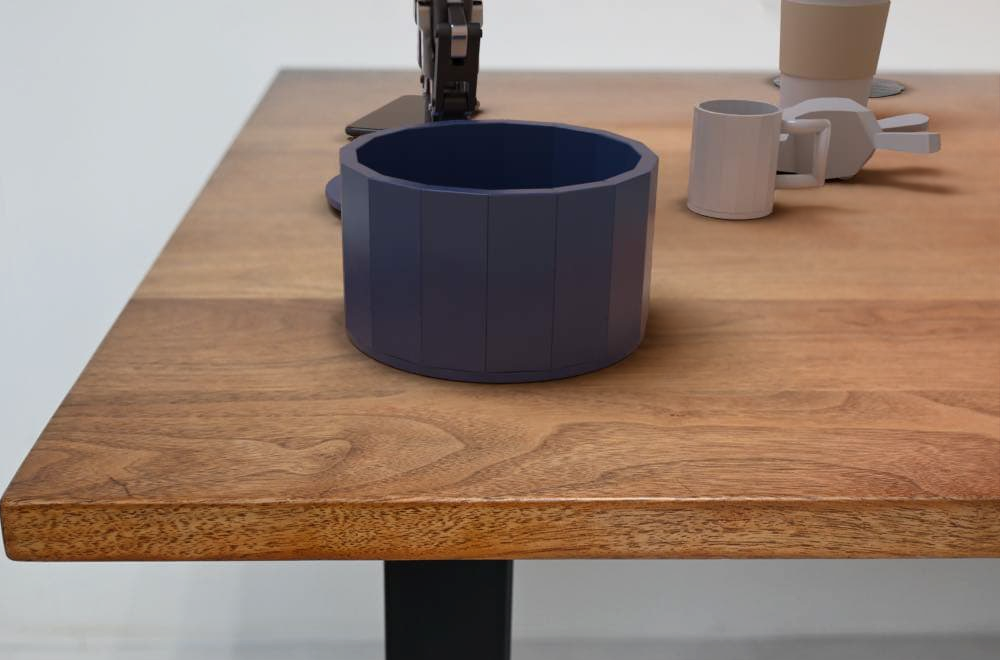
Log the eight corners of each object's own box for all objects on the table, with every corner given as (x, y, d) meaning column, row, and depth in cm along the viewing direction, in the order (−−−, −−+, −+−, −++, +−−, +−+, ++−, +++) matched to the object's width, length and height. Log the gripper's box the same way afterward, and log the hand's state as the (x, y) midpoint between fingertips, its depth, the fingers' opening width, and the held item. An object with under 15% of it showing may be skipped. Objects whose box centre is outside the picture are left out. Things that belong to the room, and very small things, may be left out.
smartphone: (402, 103, 111) (340, 137, 98) (402, 93, 111) (340, 127, 98) (483, 108, 109) (431, 144, 96) (483, 98, 109) (431, 133, 96)
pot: (607, 270, 69) (615, 117, 66) (680, 376, 56) (696, 189, 52) (340, 279, 67) (335, 122, 64) (350, 390, 54) (345, 198, 51)
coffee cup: (897, 130, 102) (925, -63, 97) (795, 135, 101) (817, -62, 95) (843, 108, 110) (866, -71, 105) (748, 112, 109) (765, -71, 103)
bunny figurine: (712, 99, 93) (925, 83, 90) (714, 166, 95) (923, 153, 92) (710, 125, 85) (946, 109, 81) (713, 199, 87) (943, 186, 83)
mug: (700, 220, 78) (709, 116, 76) (677, 197, 83) (684, 99, 81) (837, 216, 79) (850, 114, 77) (805, 194, 84) (817, 97, 82)
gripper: (530, -114, 68) (522, 196, 75) (493, -123, 81) (489, 143, 88) (392, -114, 67) (396, 199, 74) (377, -123, 80) (382, 145, 87)
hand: (446, 167), depth 81 cm, fingers closed on lid, 2 cm apart
